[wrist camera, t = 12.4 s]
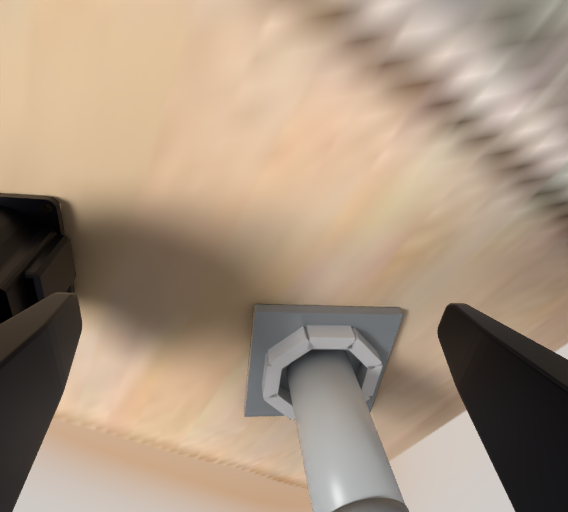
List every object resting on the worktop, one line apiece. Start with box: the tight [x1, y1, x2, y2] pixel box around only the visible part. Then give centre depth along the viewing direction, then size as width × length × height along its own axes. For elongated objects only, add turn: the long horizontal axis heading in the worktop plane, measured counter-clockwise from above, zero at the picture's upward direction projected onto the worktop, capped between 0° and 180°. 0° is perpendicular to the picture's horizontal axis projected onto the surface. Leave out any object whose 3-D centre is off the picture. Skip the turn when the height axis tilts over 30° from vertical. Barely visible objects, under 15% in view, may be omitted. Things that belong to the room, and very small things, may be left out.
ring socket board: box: [244, 304, 403, 420], centre depth 28 cm, size 10×10×2 cm
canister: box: [287, 349, 409, 512], centre depth 23 cm, size 5×5×11 cm
